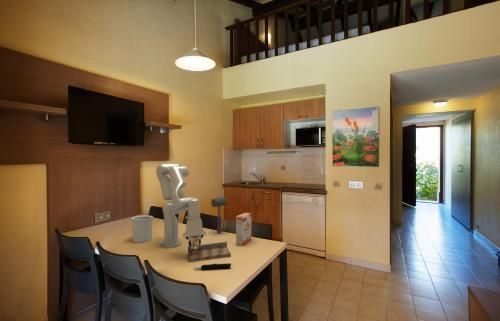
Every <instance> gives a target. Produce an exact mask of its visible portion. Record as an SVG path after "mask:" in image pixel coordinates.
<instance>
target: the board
mask: <svg viewBox="0 0 500 321" xmlns="http://www.w3.org/2000/svg"><path fill="white" fill-rule="evenodd" d="M231 256H232V254H231V252H230V250H229V248H228V241H221V242H213V243H212V242H211V243H204V244H203V243H201V244H200V246H199V248H197V249H196V250H195V249H191V247H190V246H189V245H187V258H188V259H187V260H188V263H192V262H194V263H195V262H200V261H207V260H214V259H221V258H230V257H231Z"/></svg>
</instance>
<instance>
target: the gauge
mask: <svg viewBox="0 0 500 321" xmlns="http://www.w3.org/2000/svg"><path fill="white" fill-rule="evenodd" d="M190 240H191V249H195V250H196V249H197V248H199V236H193V237H191V239H190Z"/></svg>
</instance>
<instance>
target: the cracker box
mask: <svg viewBox="0 0 500 321" xmlns="http://www.w3.org/2000/svg"><path fill="white" fill-rule="evenodd" d="M235 223H236V224H235V226H236V227H235V229H236V230H235V244H236V245H238V246H244V245H246V244H247V243H249V242H250V241H252V213H251V212H244V213H242V214H239V215H236V216H235Z"/></svg>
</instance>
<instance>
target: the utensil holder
mask: <svg viewBox="0 0 500 321" xmlns="http://www.w3.org/2000/svg"><path fill="white" fill-rule="evenodd" d="M153 219H154V216H153V215H138V216H134V217H132V218H131V221H132V222H131V224H132V243H136V244H137V243H146V242H149V241H151V240H152V239H153Z"/></svg>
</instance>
